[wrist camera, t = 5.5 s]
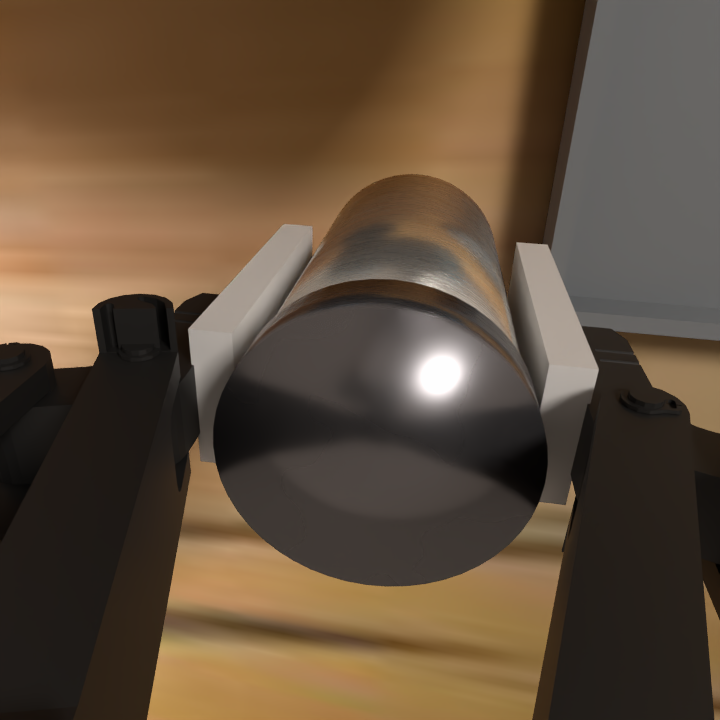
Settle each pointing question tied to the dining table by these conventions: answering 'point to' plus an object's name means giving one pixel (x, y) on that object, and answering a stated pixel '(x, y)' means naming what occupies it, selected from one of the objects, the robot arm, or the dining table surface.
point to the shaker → (388, 399)
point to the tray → (642, 170)
